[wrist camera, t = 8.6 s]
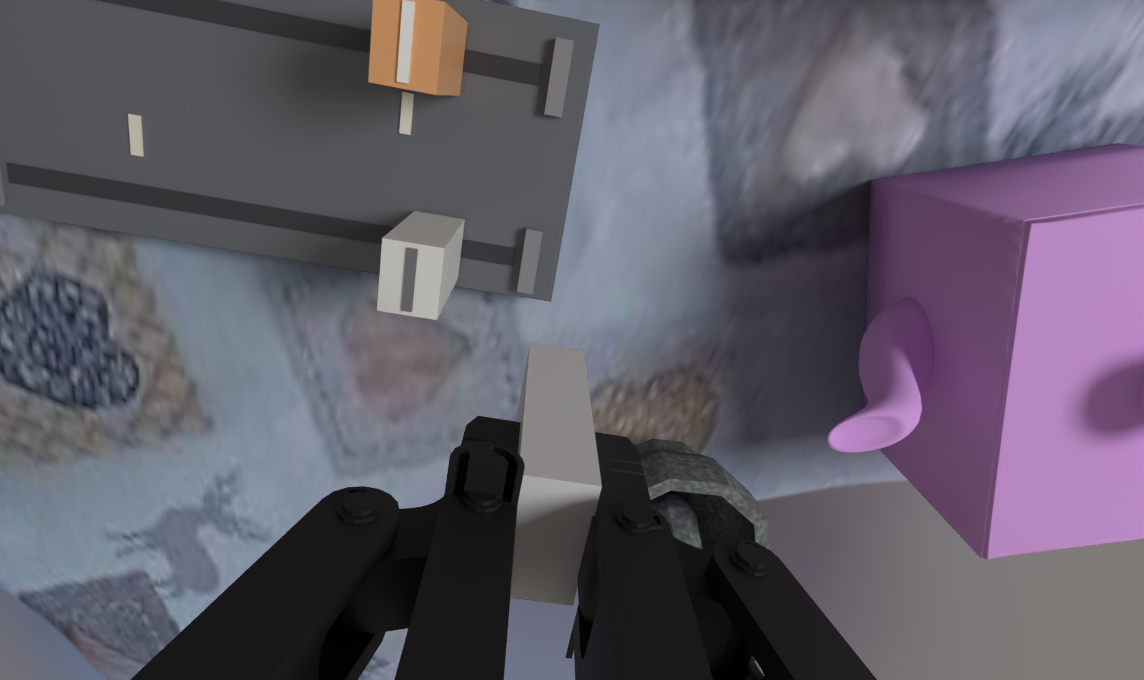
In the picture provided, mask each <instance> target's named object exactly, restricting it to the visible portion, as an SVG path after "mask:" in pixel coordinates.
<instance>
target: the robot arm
mask: <svg viewBox="0 0 1144 680" xmlns="http://www.w3.org/2000/svg"><path fill="white" fill-rule="evenodd" d="M577 586H578V598H579V605H578V609H577V613H576V617H575V621H574V625H573V629H572V633H571V638H570V641H569V645H568V649H567V654H566V658H572V655H573V650H574V656H575V680H877V679H876V678H875V677H874V676H873V675H872V673H871V672H870V671H869V669H868V668H867V667H866V666H865V664H864V663H863V662H862V661H861V659H860V658H859V657H858V656H857V654H856V653H855V652H854V651H853V649H852V648H851V647H850V646H849V644H848V643H847V642H846V641H845V640H844V638H843V637H842V636H841V634H840V633H839V632H838V631H837V629H836V628H835V627H834V626H833V625H832V623H831V622H830V621H829V620H828V618H827V617H826V616H825V615H824V613H823V612H822V611H821V610H820V608H819V607H818V606H817V605H816V604H815V602H814V601H813V600H812V598H811V597H810V596H809V595H808V594H807V592H806V591H805V590H804V589H803V587H802V586H801V585H800V584H799V582H798V581H797V580H796V579H795V577H794V576H793V575H792V574H791V572H790V571H789V570H788V569H787V567H786V566H785V565H784V564H783V562H782V561H781V560H780V559H779V558H778V557H777V556H776V555H775V554H774V553H773V552H772V551H770V550H769V549H767V548H765V547H764V546H762V545H760V544H759V543H756V542H754V541H750V540H748V539H745V538H737V537H728V538H723V539H720V540H719V541H717V542H716V543H715V544H714V546H713V549H712V552H708V551H705V550H703V549H700V548H697V547H694V546H692V545H689V544H687V543H685V542H682V541H680V540H678V539H677V538H675V537H673V535H672V531H671V528H670V525H669V523H668V522H667V520H666V518H665V517H664V516H663V515H662V514H660V513H659V512H658V511H657V510H656V509H654V508H653V507H652V503H651V499H650V495H649V491H648V487H647V483H646V479H645V476H644V471H643V467H642V465H641V459H640V455H639V451H638V449H637V448H636V447H635V446H634V445H633V444H632V443H631V441H630V440H629V439H628V438H627V437H621V436H615V435H609V434H602V433H596V432H595V431H594V424H593V416H592V409H591V401H590V394H589V386H588V378H587V371H586V363H585V356H584V351H583V350H577V349H571V348H565V347H559V346H553V345H547V344H541V343H535V342H530V346H529V352H528V357H527V363H526V368H525V374H524V380H523V385H522V391H521V396H520V402H519V407H518V413H517V418H516V422H514V421H508V420H501V419H495V418H489V417H482V416H477V417H476V418H475V419H474V420H472V421H471V422H470V423H469V424H467V425H466V428H465V432H464V436H463V440H462V443H461V446H459V447H457V448H455V449H454V451H453V452H452V453H451V455H450V460H449V467H448V474H447V481H446V488H445V495H444V496H443V497H442V498H441V499H440V500H438V501H436V502H434V503H432V504H429V505H426V506H422V507H416V508H407V509H399V506H398V502H397V501H396V500H395V499H394V498H393V497H392V496H391V495H390V494H388V493H386V492H384V491H382V490H380V489H376V488H370V487H364V486H362V487H347V488H344V489H341V490H337V491H334V492H332V493H331V494H329V495H328V496H326V497H324V498H323V499H322V500H321V501H320V502H319V503H318V504H316V505H315V506H314V507H313V508H312V509H311V510H310V511H309V512H308V513H307V514H306V515H305V516H304V517H303V518H302V519H301V520H299V521H298V522H297V523H296V524H295V525H294V526H293V527H292V528H291V529H290V530H289V531H288V532H287V533H286V534H285V535H284V536H282V537H281V538H280V539H279V540H278V541H277V542H276V543H275V544H274V545H273V546H272V547H271V548H270V549H269V550H268V551H267V552H265V553H264V554H263V555H262V556H261V557H260V558H259V559H258V560H257V561H256V562H255V563H254V564H253V565H252V566H251V567H250V568H248V569H247V570H246V571H245V572H244V573H243V574H242V575H241V576H240V577H239V578H238V579H237V580H236V581H235V582H234V583H233V584H231V585H230V586H229V587H228V588H227V589H226V590H225V591H224V592H223V593H222V594H221V595H220V596H219V597H218V598H217V599H216V600H215V601H213V602H212V603H211V604H210V605H209V606H208V607H207V608H206V609H205V610H204V611H203V612H202V613H201V614H200V615H199V616H198V617H196V618H195V619H194V620H193V621H192V622H191V623H190V624H189V625H188V626H187V627H186V628H185V629H184V630H183V631H182V632H181V633H179V634H178V635H177V636H176V637H175V638H174V639H173V640H172V641H171V642H170V643H169V644H168V645H167V646H166V647H165V648H164V649H162V650H161V651H160V652H159V653H158V654H157V655H156V656H155V657H154V658H153V659H152V660H151V661H150V662H149V663H148V664H147V665H145V666H144V667H143V668H142V669H141V670H140V671H139V672H138V673H137V674H136V675H135V676H134V677H133V678H132V679H131V680H358V678H359V677H360V675H361V674H362V672H363V670H364V669H365V667H366V666H367V664H368V663H369V661H370V660H371V658H372V656H373V655H374V653H375V652H376V650H377V649H378V647H379V646H380V644H381V642H382V640H383V637H384V635H385V632H386V631H393V630H399V629H406V628H408V632H407V636H406V639H405V643H404V647H403V651H402V654H401V658H400V662H399V665H398V669H397V673H396V677H395V680H504V668H505V655H506V643H507V630H508V618H509V605H510V598H518V599H526V600H534V601H542V602H550V603H557V604H565V605H573V603H574V598H575V595H576V590H577ZM755 660H756V661H757V663H758V664H759V666H760V667H761V669H762V671H763V673H764V675H765V676H763V674H762V673H761V672H760V670H759V669H758V667H757V665H756V664H755Z"/></svg>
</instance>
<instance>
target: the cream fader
mask: <svg viewBox="0 0 1144 680" xmlns="http://www.w3.org/2000/svg"><path fill="white" fill-rule="evenodd" d="M464 222H465V219H459V218H454V217H448V216H442V215H436V214H430V213H424V212H419V211H414V212H413V213H412V214H410V215H409V216H408V217H407V218H406V219H404V220H403V221H402V222H401V223H400V224H398V225H397V226H396V227H395V228H394V229H392V230H391V231H390V232H389V233H388V234H386V235H385V236H384V237H383V238H382V248H381V262H380V276H379V290H378V304H377V311H383V312H389V313H396V314H402V315H408V316H415V317H421V318H428V319H434V320H437V318H438V316H439V315H440V313H441V311H442V309H443V307H444V305H445V303H446V301H447V299H448V297H449V295H450V293H451V291H452V289H453V287H454V285H455V283H456V281H457V279H458V273H459V265H460V256H461V248H462V239H463V231H464Z"/></svg>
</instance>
